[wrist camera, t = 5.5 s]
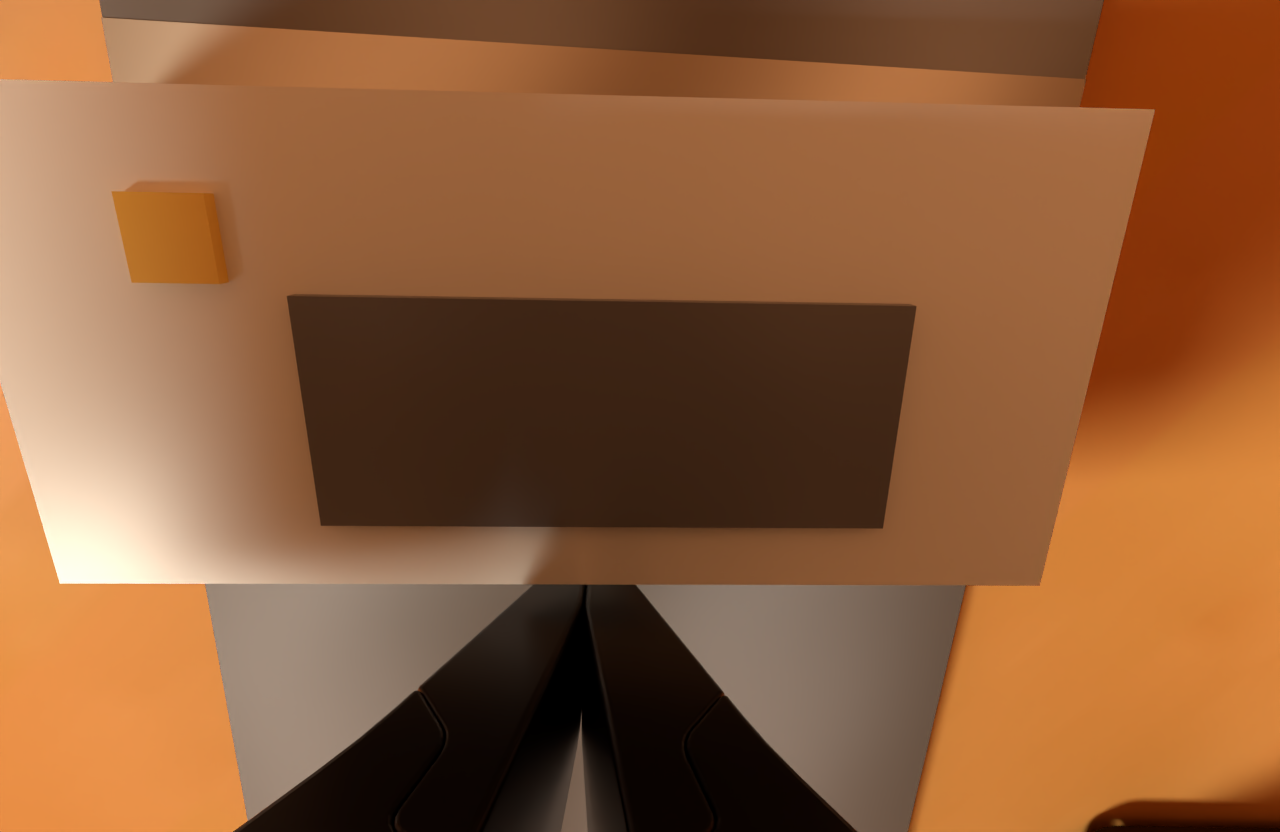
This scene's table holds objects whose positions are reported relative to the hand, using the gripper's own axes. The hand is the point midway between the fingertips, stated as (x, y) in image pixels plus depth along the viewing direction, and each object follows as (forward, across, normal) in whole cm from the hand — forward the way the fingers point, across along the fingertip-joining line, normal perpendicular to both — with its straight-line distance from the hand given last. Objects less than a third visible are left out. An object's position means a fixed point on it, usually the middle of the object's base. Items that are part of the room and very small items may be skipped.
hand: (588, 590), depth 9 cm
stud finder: (+1, 0, -4) cm, 4 cm away
